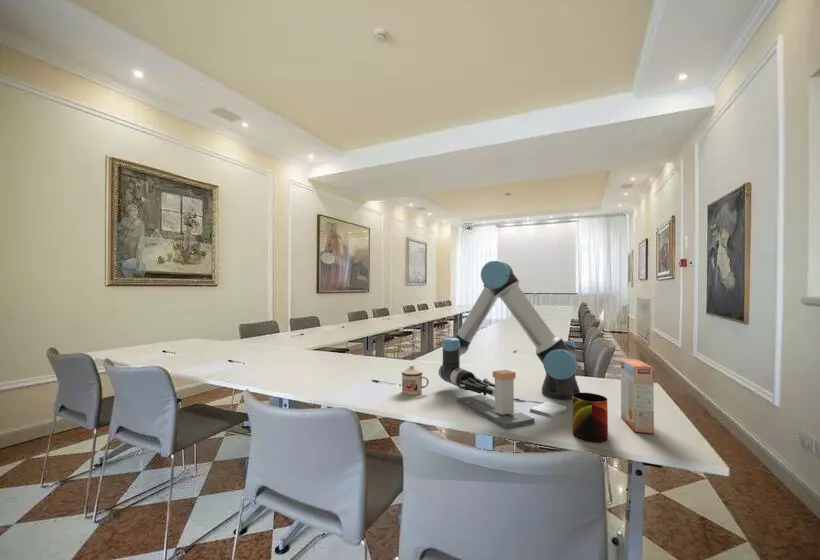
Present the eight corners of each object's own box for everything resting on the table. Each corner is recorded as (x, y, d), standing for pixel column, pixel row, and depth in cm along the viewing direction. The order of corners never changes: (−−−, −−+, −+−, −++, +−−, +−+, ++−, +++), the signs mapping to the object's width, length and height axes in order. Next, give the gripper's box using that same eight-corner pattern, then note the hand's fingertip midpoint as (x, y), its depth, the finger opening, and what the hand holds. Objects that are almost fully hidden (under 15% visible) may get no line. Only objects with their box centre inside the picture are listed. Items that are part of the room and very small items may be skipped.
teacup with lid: (398, 394, 153) (398, 367, 153) (405, 388, 162) (405, 362, 162) (425, 397, 149) (425, 369, 150) (431, 391, 158) (431, 364, 158)
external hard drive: (529, 412, 132) (546, 405, 141) (551, 418, 126) (566, 410, 135) (529, 408, 132) (546, 401, 141) (551, 414, 126) (566, 406, 135)
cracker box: (655, 434, 111) (654, 367, 112) (633, 432, 113) (632, 365, 113) (639, 419, 125) (639, 358, 125) (620, 417, 126) (619, 357, 127)
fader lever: (492, 411, 127) (492, 371, 127) (506, 408, 129) (506, 369, 130) (502, 415, 122) (501, 374, 122) (515, 413, 125) (515, 372, 125)
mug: (602, 427, 117) (602, 390, 117) (610, 445, 104) (610, 403, 104) (570, 423, 120) (570, 387, 120) (574, 440, 107) (573, 400, 107)
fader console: (456, 402, 143) (456, 397, 143) (481, 398, 148) (481, 394, 148) (506, 428, 116) (506, 423, 116) (534, 423, 121) (534, 418, 121)
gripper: (476, 386, 152) (514, 402, 131) (449, 390, 146) (485, 407, 125) (476, 368, 152) (514, 381, 131) (449, 371, 147) (484, 385, 125)
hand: (499, 394), depth 128 cm, fingers closed
